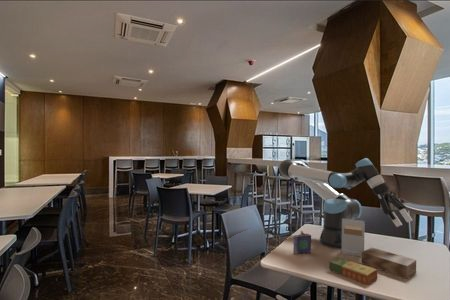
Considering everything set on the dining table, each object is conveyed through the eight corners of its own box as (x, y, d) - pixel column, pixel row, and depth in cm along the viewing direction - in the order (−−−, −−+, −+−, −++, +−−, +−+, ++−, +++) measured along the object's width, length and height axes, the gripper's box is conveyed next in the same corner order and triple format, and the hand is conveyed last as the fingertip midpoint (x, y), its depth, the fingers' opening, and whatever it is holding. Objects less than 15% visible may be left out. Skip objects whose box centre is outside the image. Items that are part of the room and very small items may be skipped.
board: (341, 250, 137) (342, 217, 137) (363, 253, 133) (364, 220, 133) (341, 253, 133) (341, 219, 133) (364, 257, 129) (364, 222, 129)
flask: (294, 255, 130) (295, 232, 130) (291, 253, 133) (292, 231, 133) (311, 253, 132) (312, 231, 132) (308, 251, 135) (308, 230, 135)
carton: (367, 286, 102) (368, 274, 102) (328, 270, 115) (328, 260, 115) (377, 279, 107) (377, 268, 107) (338, 265, 120) (339, 256, 120)
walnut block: (361, 263, 122) (361, 252, 122) (371, 257, 128) (371, 247, 128) (407, 278, 108) (407, 266, 108) (416, 271, 114) (416, 260, 114)
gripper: (373, 183, 132) (402, 224, 122) (394, 180, 147) (421, 216, 138) (361, 190, 137) (387, 230, 127) (382, 187, 152) (407, 222, 142)
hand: (405, 223), depth 132 cm, fingers open, 13 cm apart
